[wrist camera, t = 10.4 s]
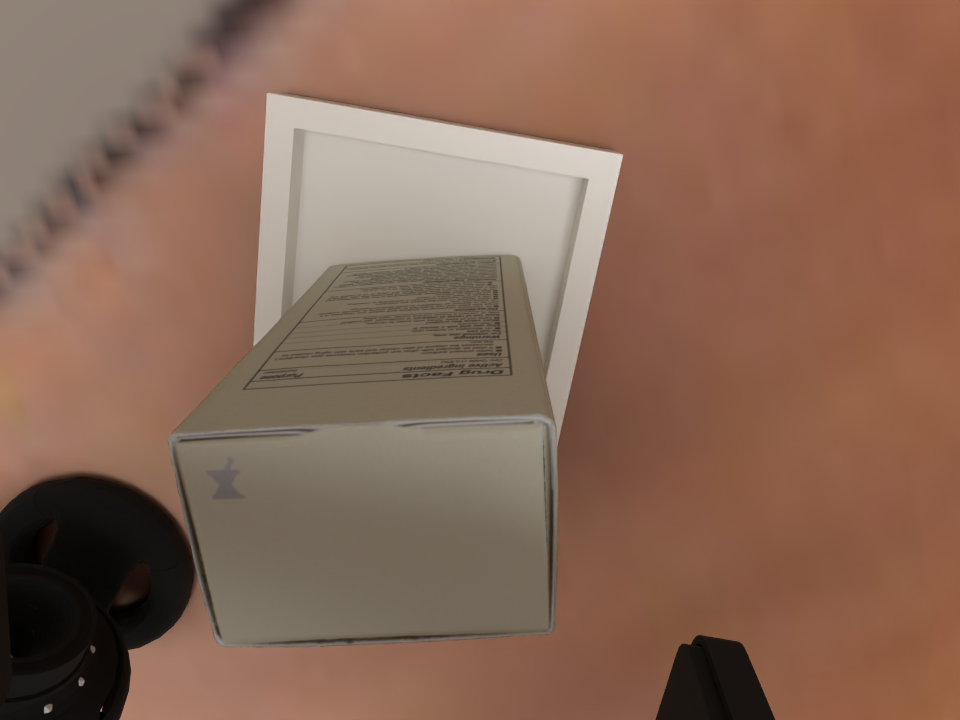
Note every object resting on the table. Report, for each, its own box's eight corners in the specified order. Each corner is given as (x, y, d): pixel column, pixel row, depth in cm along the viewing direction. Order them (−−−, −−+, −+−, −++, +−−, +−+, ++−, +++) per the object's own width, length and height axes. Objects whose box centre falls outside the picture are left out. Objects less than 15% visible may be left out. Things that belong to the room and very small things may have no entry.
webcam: (231, 534, 27) (84, 768, 18) (157, 664, 29) (-7, 932, 20) (36, 435, 26) (-233, 629, 16) (-25, 579, 28) (-291, 822, 19)
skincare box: (344, 388, 24) (194, 656, 12) (327, 261, 22) (139, 434, 11) (536, 380, 24) (562, 650, 12) (531, 251, 22) (557, 418, 11)
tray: (614, 150, 22) (623, 154, 20) (538, 490, 26) (540, 518, 24) (286, 93, 21) (267, 92, 20) (263, 445, 26) (246, 470, 24)
